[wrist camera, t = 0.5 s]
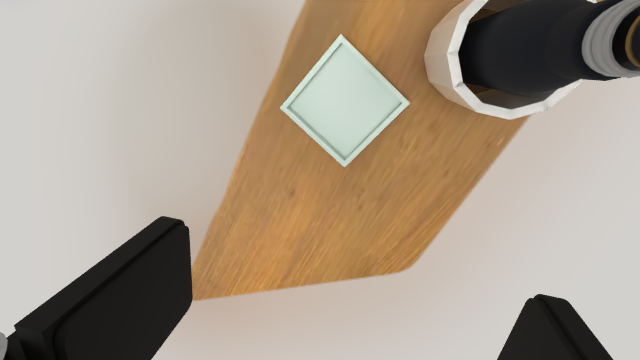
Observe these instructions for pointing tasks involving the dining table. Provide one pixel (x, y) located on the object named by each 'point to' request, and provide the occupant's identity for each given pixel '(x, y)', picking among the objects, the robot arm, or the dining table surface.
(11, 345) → the robot arm
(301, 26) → the dining table surface
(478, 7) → the wine cooler
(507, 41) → the wine bottle
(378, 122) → the sage tray
